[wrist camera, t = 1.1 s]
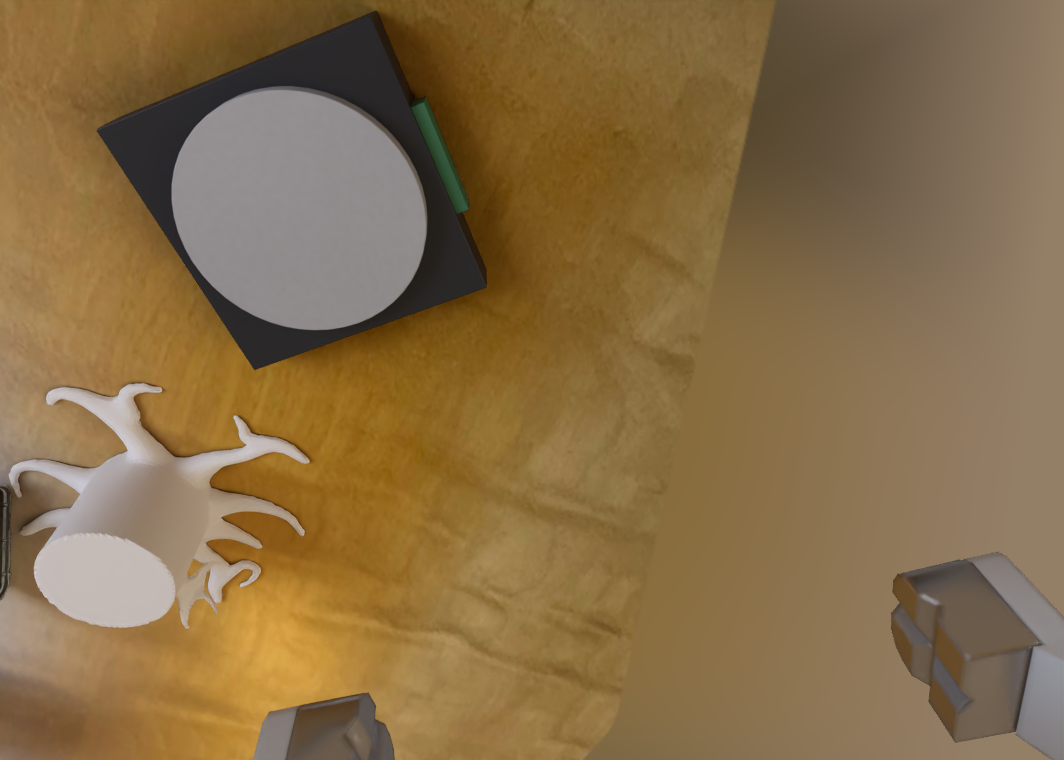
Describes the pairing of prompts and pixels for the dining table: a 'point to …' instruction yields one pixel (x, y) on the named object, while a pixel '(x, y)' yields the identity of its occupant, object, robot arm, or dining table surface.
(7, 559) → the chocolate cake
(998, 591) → the robot arm
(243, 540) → the tree stump
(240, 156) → the kitchen scale
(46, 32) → the dining table surface
